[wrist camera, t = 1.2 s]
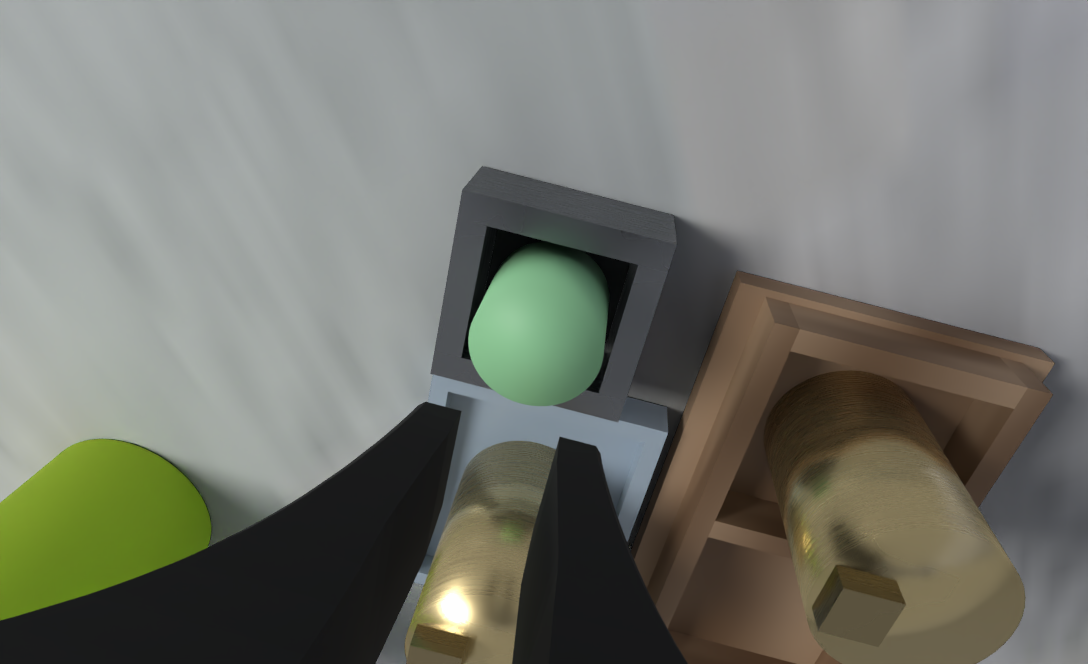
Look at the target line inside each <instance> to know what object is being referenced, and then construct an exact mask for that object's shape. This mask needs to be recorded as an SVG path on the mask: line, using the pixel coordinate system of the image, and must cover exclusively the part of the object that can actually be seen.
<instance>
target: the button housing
mask: <svg viewBox="0 0 1088 664" xmlns="http://www.w3.org/2000/svg"><path fill="white" fill-rule="evenodd" d="M497 229H500V230H504V231H508V232H512V233H516V234H520V235H524V236H528V237H532V238H535V239H539V240H543V241H547V242H551V243H555V244H559V245H563V246H567V247H570V248H574V249H578V250H582V251H586V252H590V253H594V254H598V255H602V256H605V257H609V258H613V259H617V260H621V261H625V262H629V263H630V266H629V269H628V273H627V276H626V279H625V282H624V286H623V289H622V292H621V296H620V299H619V302H618V306H617V309H616V312H615V316H614V319H613V322H612V326H611V329H610V332H609V336H608V339H607V342H606V346H605V349H604V355H603V361H602V365H601V368H600V371H599V373H598V375H597V377H596V378H595V380H594V381H593V382H592V384H591V385H590V386H589V387H588V388H587V389H586V390H585V391H584V392H583V393H581V394H580V395H578V396H577V397H575V398H573V399H571V400H569V401H567V402H564V403H561V404H557V405H553V406H556V407H560V408H564V409H568V410H572V411H576V412H579V413H583V414H587V415H591V416H595V417H599V418H603V419H606V420H610V421H614V422H619V419H620V416H621V413H622V410H623V407H624V404H625V401H626V398H627V395H628V392H629V389H630V386H631V383H632V380H633V377H634V374H635V371H636V368H637V365H638V361H639V358H640V355H641V352H642V349H643V346H644V343H645V340H646V337H647V334H648V331H649V328H650V325H651V322H652V319H653V316H654V313H655V310H656V307H657V304H658V301H659V298H660V295H661V292H662V289H663V286H664V283H665V280H666V277H667V274H668V271H669V268H670V265H671V261H672V258H673V255H674V252H675V249H676V246H677V240H676V231H675V222H674V215H671V214H667V213H663V212H659V211H655V210H651V209H647V208H643V207H640V206H636V205H632V204H628V203H624V202H620V201H616V200H612V199H608V198H604V197H601V196H597V195H593V194H589V193H585V192H581V191H577V190H573V189H569V188H565V187H562V186H558V185H554V184H550V183H546V182H542V181H538V180H534V179H530V178H526V177H522V176H519V175H515V174H511V173H507V172H503V171H499V170H495V169H491V168H487V167H483V166H482V167H481V168H480V169H479V170H478V172H477V173H476V174H475V175H474V176H473V178H472V179H471V180H470V181H469V182H468V184H467V185H466V186H465V187H464V188H463V190H462V195H461V201H460V207H459V213H458V219H457V224H456V230H455V236H454V242H453V247H452V253H451V259H450V265H449V270H448V276H447V282H446V288H445V294H444V299H443V305H442V311H441V317H440V322H439V328H438V334H437V340H436V346H435V351H434V357H433V363H432V369H431V374H433V375H437V376H441V377H445V378H449V379H452V380H456V381H460V382H464V383H468V384H472V385H476V386H479V387H483V388H487V389H491V390H493V389H492V388H491V387H489V386H488V385H487V384H486V383H485V382H484V380H483V379H482V378H481V377H480V375H479V374H478V372H477V371H476V369H475V367H474V365H473V363H472V360H471V357H470V352H469V345H468V337H469V330H470V327H471V323H472V321H473V319H474V316H475V314H476V312H477V310H478V308H479V306H480V304H481V302H482V300H483V298H484V294H485V289H486V284H487V279H488V274H489V269H490V264H491V259H492V254H493V249H494V244H495V239H496V234H497Z"/></svg>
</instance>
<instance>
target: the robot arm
mask: <svg viewBox="0 0 1088 664" xmlns="http://www.w3.org/2000/svg"><path fill="white" fill-rule="evenodd" d="M461 412H462V411H460V410H456V409H452V408H448V407H444V406H441V405H437V404H433V403H429V402H424V403H422V404H420V405H418V406H417V407H416V408H415V409H414V410H413V411H412V412H411V413H410V414H409V415H408V416H407V417H406V418H405V419H403V420H402V421H401V422H400V423H399V424H398V425H397V426H396V427H394V428H393V429H392V430H391V431H390V432H389V433H387V434H386V435H385V436H384V437H383V438H381V439H380V440H379V441H378V442H377V443H375V444H374V445H373V446H371V447H370V448H369V449H368V450H366V451H365V452H364V453H362V454H361V455H360V456H359V457H357V458H356V459H355V460H353V461H352V462H351V463H349V464H348V465H347V466H345V467H344V468H343V469H341V470H340V471H339V472H337V473H336V474H334V475H333V476H331V477H330V478H328V479H327V480H325V481H324V482H322V483H321V484H319V485H318V486H316V487H315V488H314V489H312V490H311V491H309V492H308V493H306V494H305V495H303V496H302V497H300V498H298V499H297V500H295V501H293V502H292V503H290V504H289V505H287V506H285V507H284V508H282V509H280V510H279V511H277V512H275V513H273V514H272V515H270V516H268V517H266V518H264V519H263V520H261V521H259V522H257V523H255V524H254V525H252V526H250V527H248V528H246V529H244V530H242V531H240V532H238V533H236V534H234V535H232V536H230V537H228V538H226V539H224V540H222V541H220V542H218V543H216V544H214V545H212V546H210V547H208V548H206V549H204V550H201V551H199V552H197V553H195V554H193V555H190V556H188V557H186V558H184V559H181V560H179V561H177V562H174V563H172V564H169V565H167V566H164V567H162V568H159V569H157V570H154V571H151V572H149V573H146V574H144V575H141V576H139V577H136V578H133V579H130V580H128V581H125V582H122V583H120V584H117V585H114V586H111V587H108V588H105V589H103V590H100V591H97V592H94V593H91V594H88V595H85V596H81V597H78V598H75V599H71V600H68V601H65V602H61V603H58V604H55V605H52V606H48V607H45V608H42V609H38V610H35V611H32V612H28V613H25V614H22V615H19V616H15V617H11V618H8V619H4V620H0V664H375V663H376V661H377V659H378V657H379V655H380V653H381V650H382V648H383V646H384V644H385V642H386V640H387V638H388V636H389V633H390V631H391V629H392V627H393V625H394V623H395V621H396V619H397V616H398V614H399V612H400V610H401V608H402V606H403V604H404V602H405V599H406V597H407V595H408V593H409V591H410V589H411V587H412V584H413V582H414V580H415V578H416V576H417V574H418V572H419V569H420V567H421V565H422V563H423V561H424V558H425V556H426V553H427V550H428V547H429V544H430V541H431V538H432V535H433V532H434V529H435V526H436V523H437V520H438V517H439V514H440V511H441V508H442V505H443V500H444V495H445V491H446V486H447V481H448V476H449V471H450V466H451V461H452V456H453V451H454V446H455V441H456V436H457V431H458V426H459V421H460V417H461ZM512 664H688V663H687V661H686V660H685V658H684V656H683V655H682V653H681V651H680V650H679V648H678V646H677V645H676V643H675V641H674V640H673V638H672V636H671V634H670V632H669V630H668V629H667V627H666V625H665V623H664V621H663V620H662V618H661V616H660V614H659V612H658V610H657V608H656V606H655V604H654V602H653V600H652V598H651V596H650V594H649V592H648V590H647V588H646V586H645V583H644V581H643V579H642V577H641V574H640V572H639V570H638V568H637V566H636V563H635V561H634V558H633V556H632V554H631V551H630V549H629V546H628V543H627V541H626V538H625V535H624V533H623V530H622V527H621V525H620V522H619V519H618V516H617V513H616V510H615V508H614V504H613V501H612V498H611V495H610V491H609V488H608V484H607V481H606V477H605V473H604V469H603V464H602V459H601V453H600V452H599V450H598V448H597V447H596V446H594V445H590V444H586V443H583V442H579V441H575V440H571V439H567V438H563V437H559V441H558V444H557V448H556V451H555V455H554V458H553V462H552V465H551V469H550V472H549V476H548V479H547V483H546V486H545V490H544V493H543V497H542V500H541V504H540V507H539V511H538V514H537V518H536V521H535V525H534V528H533V532H532V537H531V541H530V546H529V550H528V555H527V559H526V564H525V568H524V573H523V577H522V582H521V589H520V597H519V606H518V615H517V624H516V633H515V642H514V651H513V660H512Z"/></svg>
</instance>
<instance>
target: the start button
mask: <svg viewBox="0 0 1088 664" xmlns="http://www.w3.org/2000/svg"><path fill="white" fill-rule="evenodd" d="M609 299H610V297H609V288H608V284H607V281H606V278H605V276H604V274H603V272H602V270H601V269H600V267H599V266H598V264H597V263H596V262H595V261H594V260H593V259H592V258H591V257H590V256H589V255H587V254H586V253H585V252H583V251H582V250H578V249H574V248H570V247H567V246H563V245H559V244H555V243H551V242H547V241H539V242H534V243H530V244H527V245H524V246H522V247H520V248H518V249H517V250H515V251H514V252H512V253H511V254H510V255H509V256H508V257H507V258H506V259H505V260H504V261H503V262H502V264H501V265H500V267H499V268H498V270H497V272H496V274H495V276H494V278H493V280H492V282H491V284H490V286H489V288H488V290H487V292H486V294H485V296H484V298H483V300H482V302H481V304H480V306H479V308H478V310H477V312H476V314H475V316H474V319H473V321H472V323H471V327H470V330H469V337H468V345H469V352H470V357H471V360H472V363H473V365H474V367H475V369H476V371H477V372H478V374H479V375H480V377H481V378H482V379H483V380H484V382H485V383H486V384H487V385H488V386H489V387H491V388H492V389H493V390H494V391H496V392H497V393H498V394H500V395H502V396H503V397H505V398H507V399H509V400H512V401H514V402H517V403H520V404H525V405H530V406H551V405H557V404H561V403H564V402H567V401H569V400H571V399H573V398H575V397H577V396H578V395H580V394H581V393H583V392H584V391H585V390H586V389H587V388H588V387H589V386H590V385H591V384H592V382H593V381H594V380H595V378H596V377H597V375H598V373H599V371H600V368H601V365H602V361H603V355H604V346H605V337H606V328H607V319H608V310H609Z"/></svg>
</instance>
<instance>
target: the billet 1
mask: <svg viewBox="0 0 1088 664" xmlns="http://www.w3.org/2000/svg"><path fill="white" fill-rule="evenodd" d="M555 451H556V450H555V449H553V448H551V447H548V446H546V445H542V444H539V443H535V442H529V441H508V442H502V443H498V444H495V445H492V446H490V447H488V448H486V449H484V450H482V451H481V452H479V453H478V454H477V455H476V456H475V457H474V458H473V459H472V460H471V461H470V462H469V463H468V465H467V466H466V468H465V470H464V472H463V475H462V478H461V481H460V484H459V487H458V489H457V492H456V495H455V498H454V501H453V504H452V507H451V509H450V512H449V515H448V518H447V521H446V524H445V526H444V529H443V532H442V535H441V538H440V541H439V544H438V546H437V549H436V552H435V555H434V558H433V561H432V563H431V566H430V569H429V572H428V575H427V578H426V581H425V583H424V586H423V589H422V592H421V595H420V598H419V600H418V603H417V606H416V609H415V612H414V615H413V618H412V620H411V623H410V626H409V629H408V632H407V635H406V638H405V655H406V659H407V662H406V664H512V660H513V651H514V642H515V633H516V624H517V615H518V606H519V597H520V589H521V582H522V577H523V573H524V568H525V564H526V559H527V555H528V550H529V546H530V541H531V537H532V532H533V528H534V525H535V521H536V518H537V514H538V511H539V507H540V504H541V500H542V497H543V493H544V490H545V486H546V483H547V479H548V476H549V472H550V469H551V465H552V462H553V458H554V455H555Z"/></svg>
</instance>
